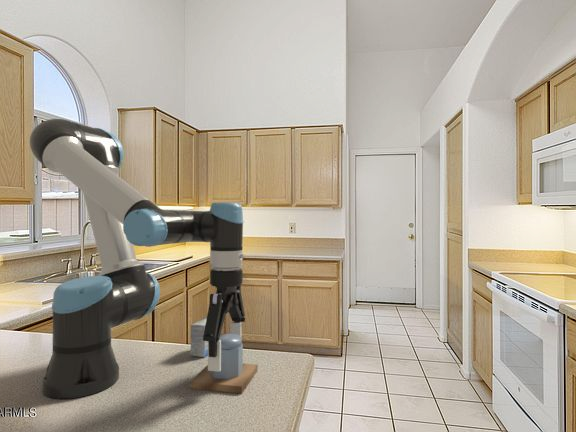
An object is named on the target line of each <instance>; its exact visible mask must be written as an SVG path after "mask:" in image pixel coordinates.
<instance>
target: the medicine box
mask: <svg viewBox="0 0 576 432" xmlns="http://www.w3.org/2000/svg"><path fill="white" fill-rule="evenodd" d="M206 320H207V317H205V318H203V319H201V320H198V321H197V322H195V323H193V324H191V325H190V356H193V357H197V358H198V357H199V358H206V357H208V341H203V335H204V330H205V325H206Z"/></svg>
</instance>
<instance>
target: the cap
mask: <svg viewBox="0 0 576 432" xmlns="http://www.w3.org/2000/svg"><path fill="white" fill-rule="evenodd" d="M219 340H221V371H220V372H217V371H210V374H211V375H212V376H213V377H214V378H217V379H226V380H227V379H231V378H235V377H238V376H239V375H240V374H241V373H242V371H243V361H244V359H243V358H244V357H243V355H244V354H243V353H244V350H243V349H244V347H243V346H244V344H243V343H242V341H243V340H242V335H241V336H240V335H237V334H230V333H221V334H220V338H219Z"/></svg>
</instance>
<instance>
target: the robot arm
mask: <svg viewBox="0 0 576 432" xmlns="http://www.w3.org/2000/svg"><path fill="white" fill-rule="evenodd" d="M29 137H30V138H29V146H30V147H29V148H30V151H31V152H32V154H33V155H34V158H35V159H37V161H38V162H39V163H40V164H42V165H43V166H44V167H45V168H46V169H48V170H49V171H50V172H54V173H60V175H62V176H63V177H64V178H65V179H67V180H68V181H69V182H71V184H73V185H74V186H75V187H77V188H78V189H79V190H80V191H81V192H82V193H83V194H82V195H83V199H84V202H85V206H86V211H87V214H88V217H89V218H88V219H89V221H90V226H91V230H92V233H93V237H94V238H93V239H94V242H95V245H96V250H97V253H98V258H99V262H100V266H101V270H100V271H99V273H98V275H90V276H86V277H83V276H82V277H77V278H73V279H70V280H67V281H64V282H63V283H60V284H59V285H58V286H57V287H56V288H55V289H54V291H53V298H52V299H53V300H52V303H51V310H52V352H51V356H50V359H49V363H48V365H47V368H46V372H45V375H44V377H43V379H42V393H43V395H44V396H46V397H48V398H52V399H60V400H61V399H64V400H65V399H67V400H68V399H75V398H81V397H87V396H90V395H93V394H97V393H99V392H102V391H104V390H106V389H108V388H110V387H112V386H113V385H114V384H116V383H117V381H118V380H119V378H120V366H119V363H118V362H117V359H116V356H115V353H114V350H113V347H112V329H113V328H117V327H118V326H121V325H124V324H126V323H129V322H132V321H137V320H140V319H142V318H143V317H145V316H147V315H149V314H151V313H152V312H153V311H154V310H155V309H156V307H157V305H158V304H159V300H160V297H161V288H160V283H159V281H158V280H157V278H156V277H155V276H153V274H151V273H149V272H147V271H146V267H145V264H144V263H143V262H141V261H139V260H138V259H137V256H136V252H135V248H134V246H135V247H149V248H151V247H157V246H162V245H169V244H171V245H172V244H181V243H209V246H210V250H209V252H210V253H209V266H210V267H211V269H210V270H209V272H210V273H209V281H210V282H209V283H210V286H212V287H215V288H216V292H215V293H210V294H209V304H208V310H207V315H206V318H207V320H206V325H205V330H204V335H203V341H208V355H207V365H208V371H217V372H220V371H221V340H219V338H220V334H222V329H223V327H224V326H223V325H224V323H225V318H226V315H227V314H229V317H230V319H231V321H230V322H229V323H230V325H229V326H230V327H229V331H230V333H229V334H237V335H240V336H241V337H242V323H245V321H246V317H245V309H244V303H243V297H242V288H241V287H242V286H241V285H242V284H243V278H244V277H243V271H244V270H243V269H242V266H243V259H245V254H243V239H244V238H243V234H244V232H243V231H244V228H243V227H244V226H243V225H244V223H245V221H244V216H243V206H242V204H241V203H239V202H226V201H225V202H222V201H221V202H212V203H211V204H210V207H209V210H202V211H201V210H174V209H172V210H171V209H170V210H169V209H167V210H166V209H162V208H160V207H159V206H158V205H156V204H155V203H153V202H152V201H151V200H150V199H148V198H147V197H146V196H145V195H144V194H142V193H141V192H139V191H138V190H137V189H136V188H134V187H133V186H132V185H131V184H129V183H128V182H127V181H125V180H124V179H123V178H122V177H120V176H119V173H120V167H122V166H121V165H123V159H124V155H125V153H124V148H123V145H122V143H121V141H120V140H119V138H118V137H117V135H114V134H113V133H111V132H109V131H106V130H104V129H102V128H99V127H91V126H87V125H85V124H81V123H78V122H74V121H71V120H69V119H68V120H67V119H62V118H50V119H45V120H44V121H42V122H40V123H38V124H37V125H36V126H35V127H34V128H33V129H32V131H31V133H30V136H29Z"/></svg>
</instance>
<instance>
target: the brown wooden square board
mask: <svg viewBox="0 0 576 432" xmlns="http://www.w3.org/2000/svg"><path fill="white" fill-rule="evenodd" d="M258 365H259V364H254V363H246V362H245V363H243V371H242V373H241V374H240V375H239V376H238V377H235V378H231V379H227V380H226V379H217V378H214V377H213V376H212V375H211V374H210V371H208V364H207V365H206V366H205V367H203V368H202V370H200V371H199V372H198V373H197V374H196V375H195V376H193V378H192V379H191V380H190V383H189V385H190V387H189V388H190V389H198V390H205V391H216V392H225V393H232V394H233V393H235V394H243V393H244V391H245V390H246V388H247V387H248V385H249V384H250V382H251V381H252V380H253V378H254V377H255V375H256V373H258V370H259V368H258V367H259V366H258Z"/></svg>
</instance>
